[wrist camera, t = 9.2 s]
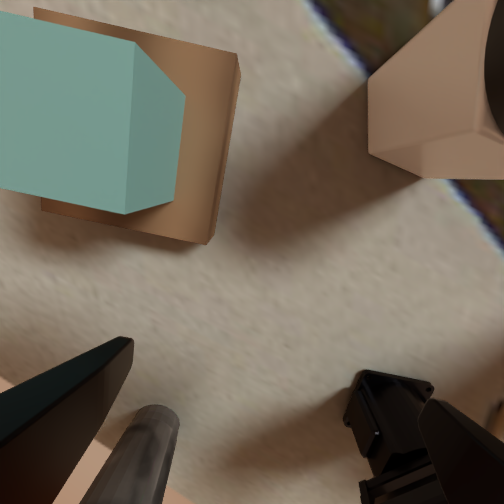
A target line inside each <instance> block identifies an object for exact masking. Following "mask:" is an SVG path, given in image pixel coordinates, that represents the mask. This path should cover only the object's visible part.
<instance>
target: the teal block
mask: <svg viewBox="0 0 504 504" xmlns="http://www.w3.org/2000/svg"><path fill="white" fill-rule="evenodd" d="M185 97H186V96H185V95H184V94H183V92H182V91H181V90H180V89H179V88H178V87H177V86H176V85H175V84H174V83H173V82H172V81H171V80H170V79H169V78H168V77H167V76H166V74H165V73H164V72H163V71H162V70H161V69H160V68H159V67H158V66H157V65H156V64H155V63H154V62H153V61H152V60H151V59H150V58H149V56H148V55H147V54H146V53H145V52H144V51H143V50H142V49H141V48H140V47H139V46H138V45H137V44H136V43H135V42H132V41H128V40H124V39H119V38H115V37H111V36H107V35H102V34H98V33H94V32H89V31H85V30H81V29H76V28H72V27H68V26H63V25H59V24H55V23H51V22H46V21H42V20H38V19H33V18H29V17H25V16H20V15H16V14H12V13H8V12H3V11H0V188H2V189H7V190H12V191H16V192H21V193H26V194H30V195H35V196H40V197H45V198H49V199H54V200H59V201H63V202H68V203H73V204H77V205H82V206H87V207H91V208H96V209H101V210H105V211H110V212H115V213H120V214H124V215H125V214H128V213H132V212H135V211H139V210H142V209H146V208H149V207H153V206H157V205H160V204H164V203H167V202H171V201H174V192H175V183H176V175H177V166H178V158H179V149H180V140H181V132H182V123H183V114H184V106H185Z"/></svg>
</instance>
